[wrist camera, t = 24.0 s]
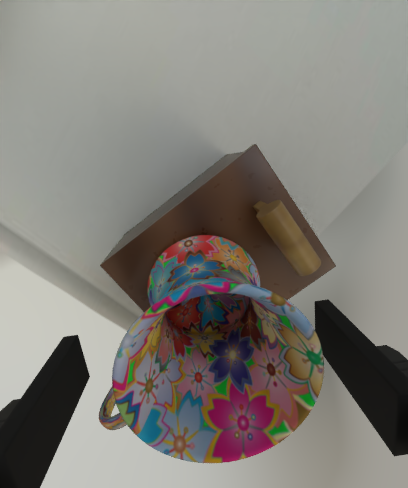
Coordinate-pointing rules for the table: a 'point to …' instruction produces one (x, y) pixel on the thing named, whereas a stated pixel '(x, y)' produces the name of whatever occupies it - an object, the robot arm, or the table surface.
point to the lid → (231, 230)
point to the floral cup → (213, 359)
